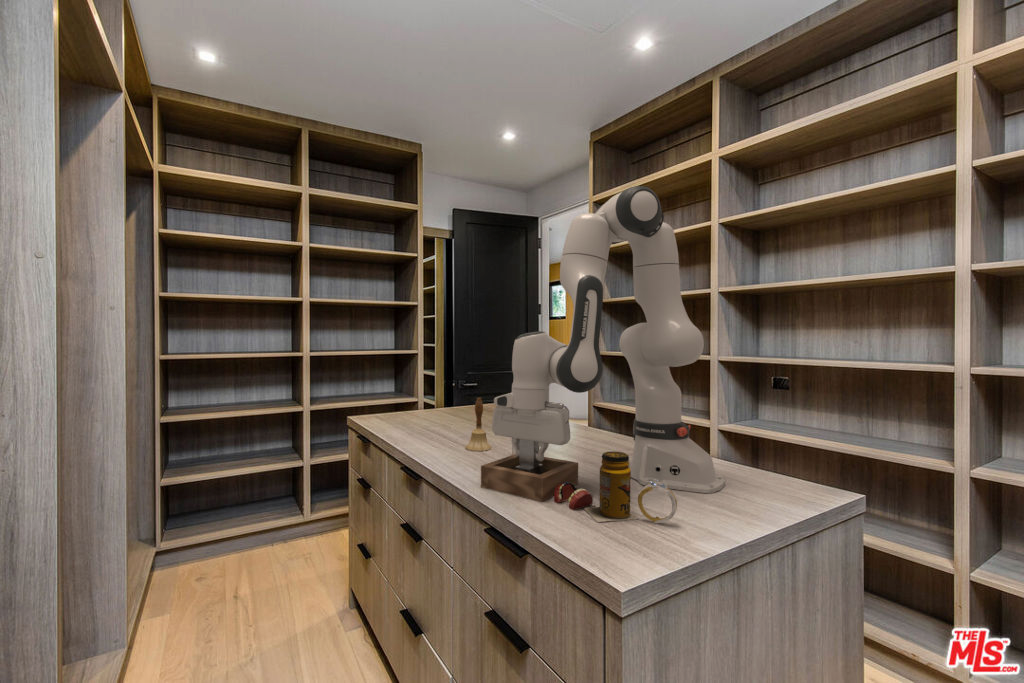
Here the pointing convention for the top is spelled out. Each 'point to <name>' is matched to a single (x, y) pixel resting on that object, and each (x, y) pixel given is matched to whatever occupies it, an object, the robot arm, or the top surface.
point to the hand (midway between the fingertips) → (529, 458)
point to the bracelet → (657, 486)
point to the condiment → (614, 489)
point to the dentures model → (572, 496)
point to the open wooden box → (528, 477)
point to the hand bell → (478, 432)
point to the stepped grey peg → (529, 457)
